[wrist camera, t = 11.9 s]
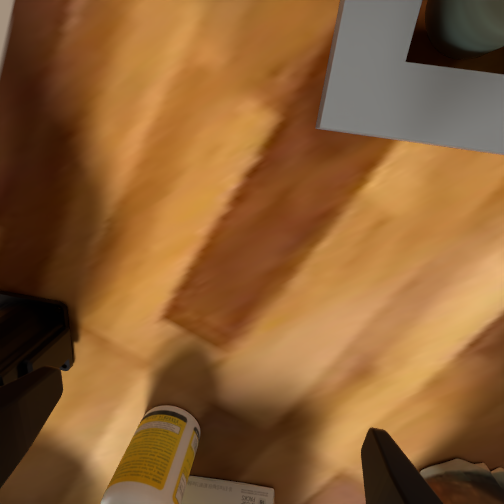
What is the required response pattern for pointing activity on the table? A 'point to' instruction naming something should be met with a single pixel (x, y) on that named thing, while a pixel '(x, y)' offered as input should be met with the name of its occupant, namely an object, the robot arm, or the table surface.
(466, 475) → the vessel
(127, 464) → the supplement bottle
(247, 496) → the tea box
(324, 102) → the holder board
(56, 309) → the robot arm
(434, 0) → the peg
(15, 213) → the table surface
